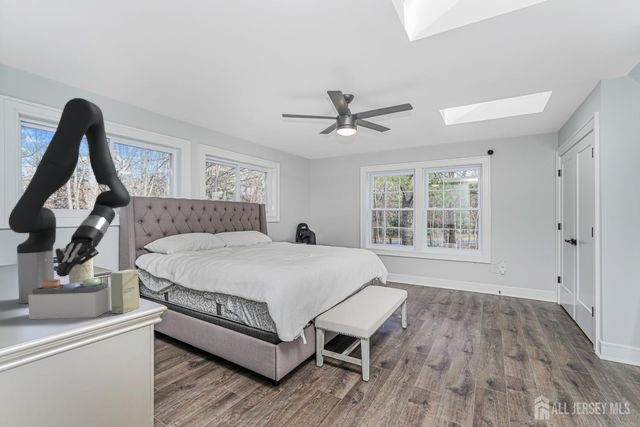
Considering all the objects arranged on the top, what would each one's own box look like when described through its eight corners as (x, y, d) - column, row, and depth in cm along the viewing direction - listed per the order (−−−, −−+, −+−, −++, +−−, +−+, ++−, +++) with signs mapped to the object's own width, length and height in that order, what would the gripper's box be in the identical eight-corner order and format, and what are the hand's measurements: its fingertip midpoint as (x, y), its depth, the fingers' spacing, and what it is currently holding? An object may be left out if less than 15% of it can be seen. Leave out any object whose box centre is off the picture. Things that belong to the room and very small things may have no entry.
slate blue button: (59, 292, 86) (58, 286, 86) (70, 289, 90) (70, 282, 90) (72, 292, 86) (72, 285, 86) (83, 288, 90) (83, 282, 90)
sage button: (79, 288, 86) (79, 281, 86) (90, 284, 90) (89, 278, 90) (93, 287, 86) (93, 281, 86) (103, 284, 90) (102, 277, 90)
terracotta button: (38, 289, 86) (38, 282, 86) (50, 285, 90) (50, 279, 90) (52, 289, 86) (51, 282, 86) (63, 285, 90) (63, 279, 90)
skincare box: (123, 314, 86) (121, 273, 86) (110, 313, 87) (109, 273, 87) (140, 307, 93) (138, 269, 92) (128, 306, 93) (127, 268, 93)
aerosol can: (98, 294, 108) (97, 241, 108) (85, 300, 102) (83, 243, 101) (79, 295, 108) (77, 241, 108) (64, 301, 101) (62, 244, 101)
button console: (29, 319, 84) (28, 290, 84) (51, 310, 91) (50, 284, 91) (95, 317, 84) (94, 288, 84) (112, 308, 91) (111, 282, 91)
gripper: (64, 224, 97) (29, 268, 85) (104, 223, 97) (75, 267, 85) (78, 239, 102) (47, 282, 90) (116, 238, 102) (90, 281, 90)
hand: (60, 275), depth 87 cm, fingers closed
